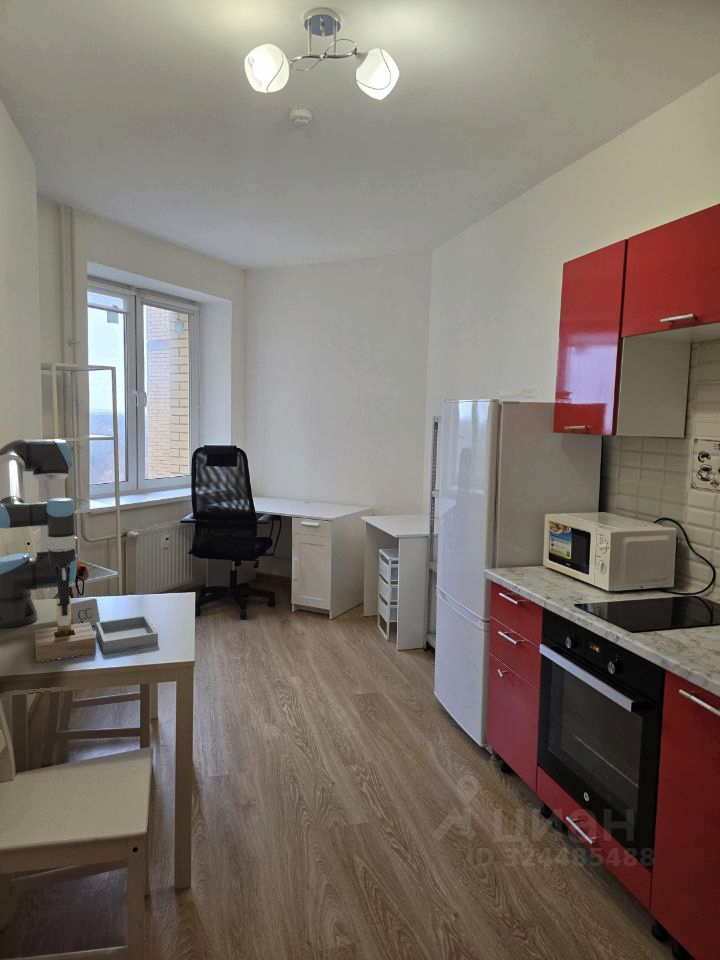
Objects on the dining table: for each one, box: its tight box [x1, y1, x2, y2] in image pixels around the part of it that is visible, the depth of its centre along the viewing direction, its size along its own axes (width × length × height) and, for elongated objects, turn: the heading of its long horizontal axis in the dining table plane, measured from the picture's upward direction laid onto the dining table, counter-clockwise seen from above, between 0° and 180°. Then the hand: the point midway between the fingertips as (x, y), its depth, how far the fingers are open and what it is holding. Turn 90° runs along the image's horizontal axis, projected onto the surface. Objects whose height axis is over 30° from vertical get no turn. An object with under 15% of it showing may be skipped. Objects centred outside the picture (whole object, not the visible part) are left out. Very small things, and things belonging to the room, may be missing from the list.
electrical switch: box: [71, 598, 101, 627], centre depth 206 cm, size 9×5×9 cm, turn 141°
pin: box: [55, 595, 72, 638], centre depth 185 cm, size 4×4×14 cm
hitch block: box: [34, 622, 97, 663], centre depth 185 cm, size 16×16×5 cm
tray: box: [95, 614, 159, 655], centre depth 194 cm, size 20×16×4 cm
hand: (64, 622), depth 185 cm, fingers closed on pin, 4 cm apart
